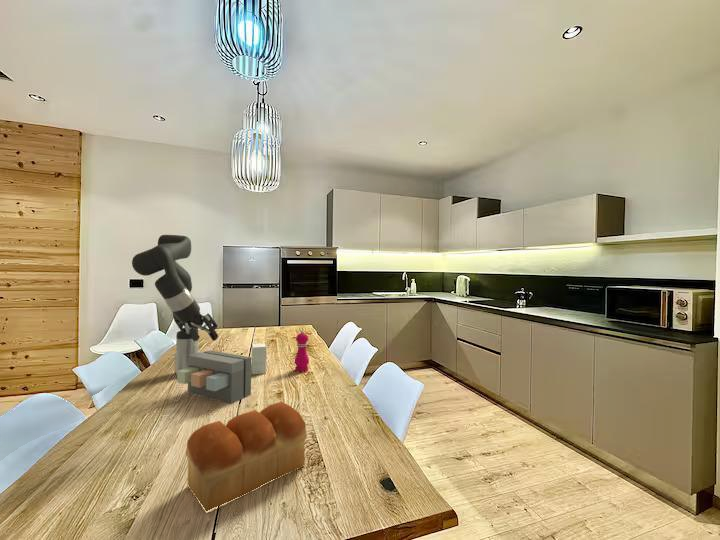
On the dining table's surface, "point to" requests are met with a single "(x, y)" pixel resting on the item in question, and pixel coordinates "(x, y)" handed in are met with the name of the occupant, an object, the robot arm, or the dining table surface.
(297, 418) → the bread
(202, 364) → the keypad console
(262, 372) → the small box
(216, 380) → the grey rectangular block
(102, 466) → the dining table surface
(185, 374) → the sage key
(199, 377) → the terracotta key
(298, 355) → the pepper mill
